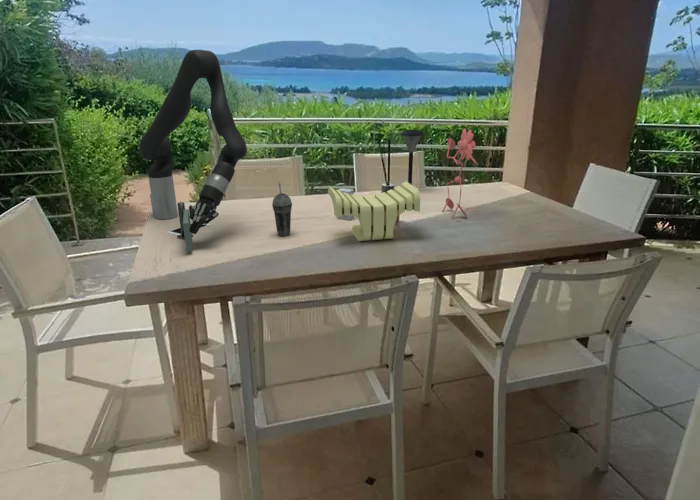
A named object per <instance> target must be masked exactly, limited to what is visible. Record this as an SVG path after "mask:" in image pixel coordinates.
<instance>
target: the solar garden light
mask: <svg viewBox="0 0 700 500" xmlns="http://www.w3.org/2000/svg"><path fill="white" fill-rule="evenodd" d="M398 135H399V136H401V137H402V138H403V140H404V143H405V145H406V147H407V150H408V171H407V173H408V175H407V182H408V183H410V184H411V185H412V186H413V162H414V152H415V149H416V148H417V146H418V143H419V141H420V140H421V137H422V136H426V134H425V133H423V132H422V131H420V130H418V129H406V130H403V131H402V132H400V133H399V134H398Z"/></svg>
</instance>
